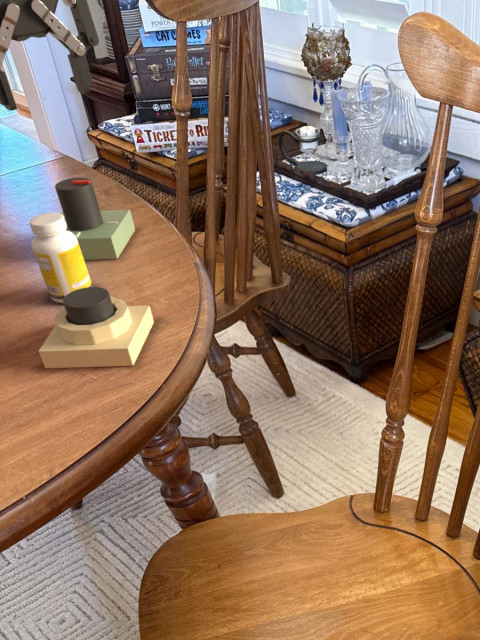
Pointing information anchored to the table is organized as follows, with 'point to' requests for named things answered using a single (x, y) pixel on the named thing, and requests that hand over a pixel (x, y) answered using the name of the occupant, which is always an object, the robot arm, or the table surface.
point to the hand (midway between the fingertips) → (48, 100)
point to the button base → (98, 339)
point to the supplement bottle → (58, 256)
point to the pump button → (88, 306)
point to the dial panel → (106, 235)
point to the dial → (79, 203)
